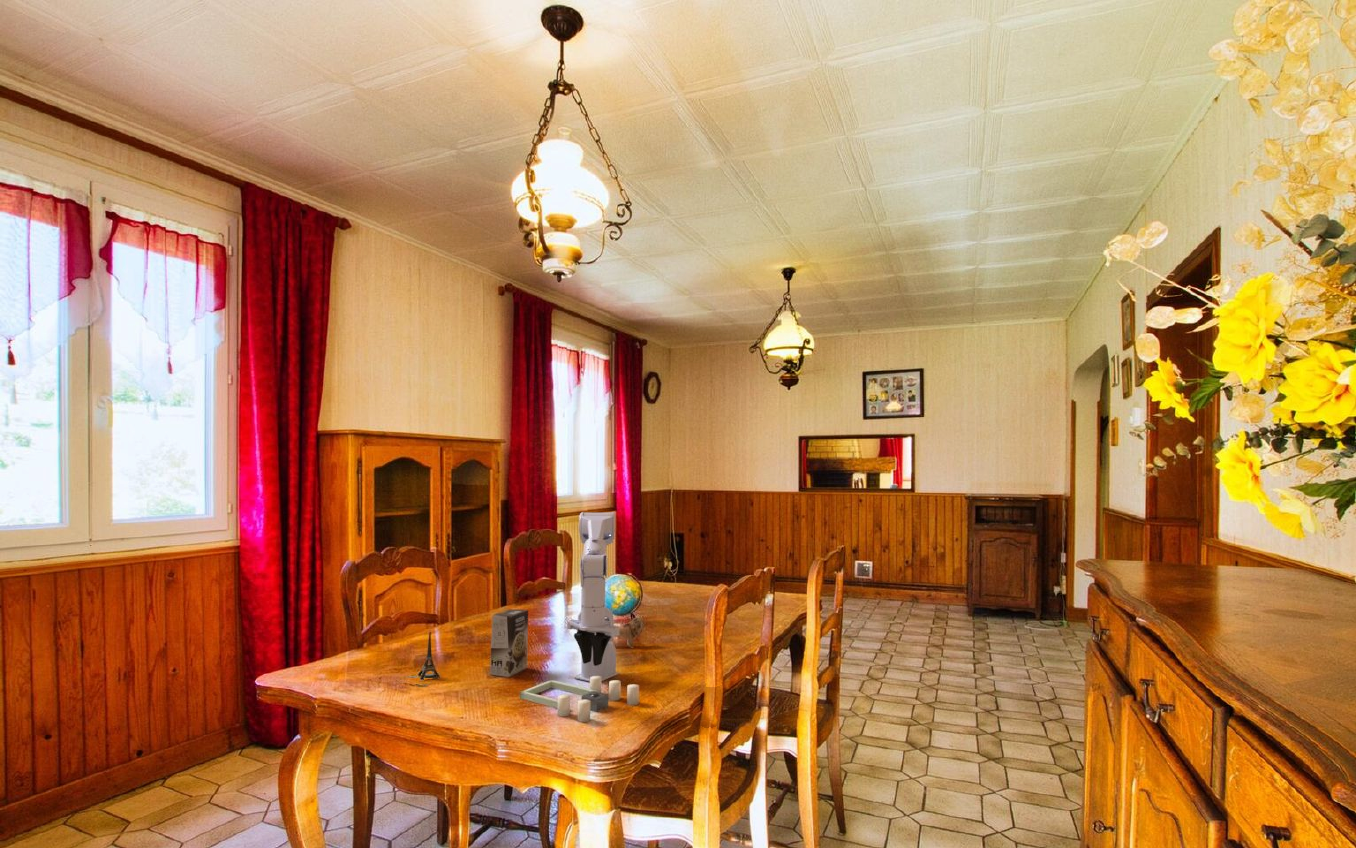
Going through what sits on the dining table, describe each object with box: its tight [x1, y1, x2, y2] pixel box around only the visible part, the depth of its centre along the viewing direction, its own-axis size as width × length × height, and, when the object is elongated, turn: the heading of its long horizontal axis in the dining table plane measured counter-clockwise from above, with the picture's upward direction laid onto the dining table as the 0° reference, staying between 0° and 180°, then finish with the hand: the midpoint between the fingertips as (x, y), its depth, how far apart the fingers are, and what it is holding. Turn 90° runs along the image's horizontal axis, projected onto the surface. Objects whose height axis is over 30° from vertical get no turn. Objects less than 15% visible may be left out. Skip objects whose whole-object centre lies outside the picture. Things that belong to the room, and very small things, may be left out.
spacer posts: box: [557, 676, 640, 723], centre depth 154 cm, size 17×14×4 cm
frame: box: [519, 679, 595, 709], centre depth 161 cm, size 11×15×2 cm
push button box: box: [580, 691, 609, 713], centre depth 155 cm, size 4×4×3 cm
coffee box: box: [489, 608, 529, 678], centre depth 182 cm, size 9×6×16 cm
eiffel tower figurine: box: [406, 631, 442, 687], centre depth 177 cm, size 15×10×13 cm
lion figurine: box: [614, 616, 645, 649], centre depth 207 cm, size 15×5×9 cm, turn 103°
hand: (592, 663), depth 156 cm, fingers open, 3 cm apart
